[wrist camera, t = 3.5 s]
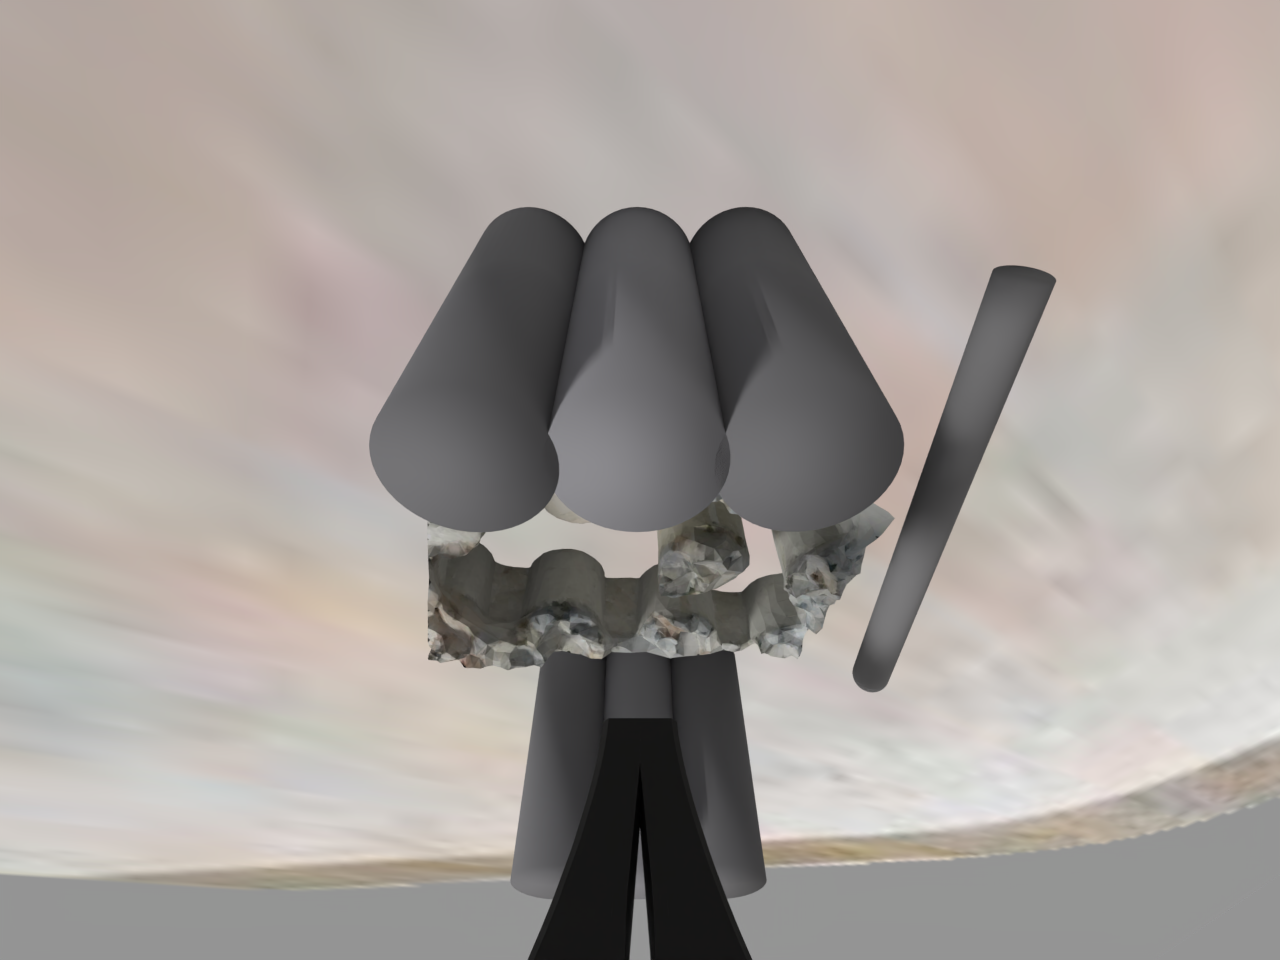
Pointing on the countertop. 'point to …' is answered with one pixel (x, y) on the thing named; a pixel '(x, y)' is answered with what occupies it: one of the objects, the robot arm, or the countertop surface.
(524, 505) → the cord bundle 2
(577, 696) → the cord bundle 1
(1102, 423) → the countertop surface
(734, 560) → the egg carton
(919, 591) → the dark grey rod
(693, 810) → the robot arm
